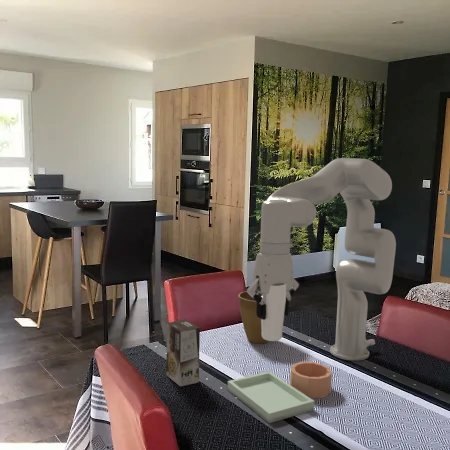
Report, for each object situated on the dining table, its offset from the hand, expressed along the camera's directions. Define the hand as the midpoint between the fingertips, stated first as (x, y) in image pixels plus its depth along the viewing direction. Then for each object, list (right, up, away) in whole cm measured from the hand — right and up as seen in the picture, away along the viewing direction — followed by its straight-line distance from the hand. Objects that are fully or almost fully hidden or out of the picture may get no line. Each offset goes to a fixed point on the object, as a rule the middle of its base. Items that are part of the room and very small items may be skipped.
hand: (272, 315), depth 134 cm
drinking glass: (0, -6, +1) cm, 6 cm away
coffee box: (-25, -21, +15) cm, 35 cm away
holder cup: (+12, -22, +10) cm, 27 cm away
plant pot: (-1, -17, +47) cm, 50 cm away
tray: (-1, -23, +3) cm, 23 cm away
